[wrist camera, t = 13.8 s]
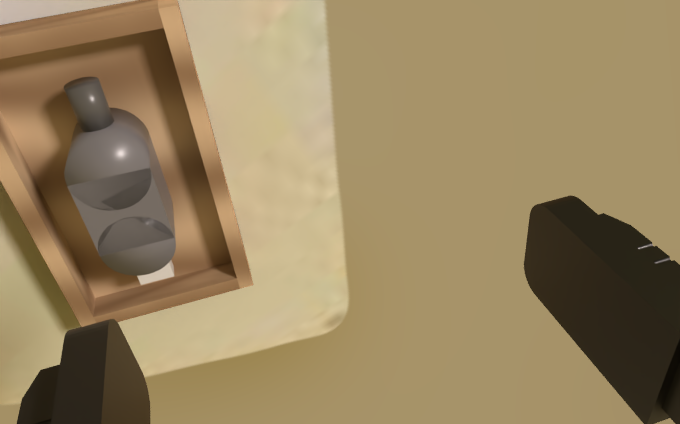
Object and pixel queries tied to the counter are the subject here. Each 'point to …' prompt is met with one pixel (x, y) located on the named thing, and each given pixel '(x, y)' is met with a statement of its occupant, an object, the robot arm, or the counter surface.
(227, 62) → the counter surface
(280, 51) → the counter surface
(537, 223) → the robot arm
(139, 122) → the gray bottle
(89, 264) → the oak tray
